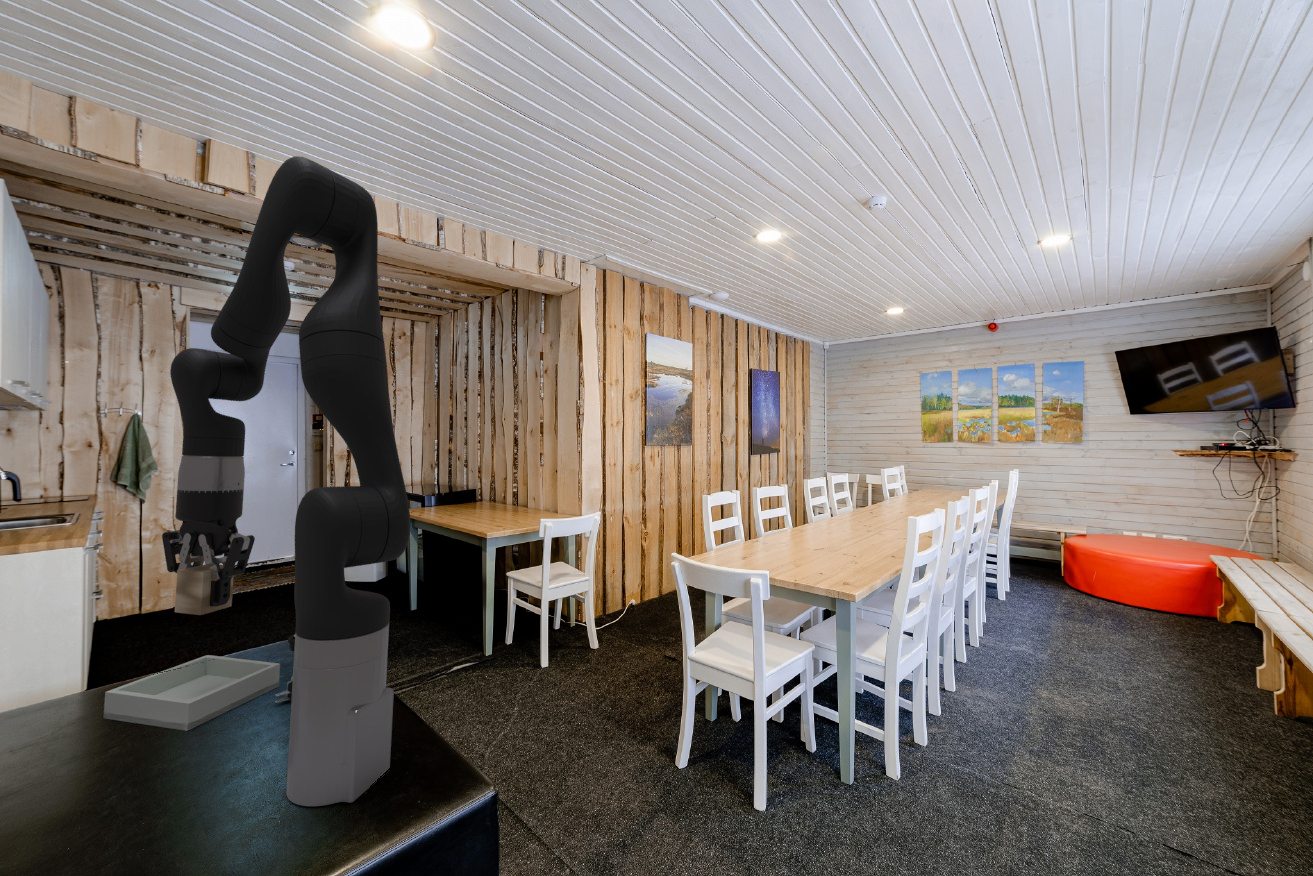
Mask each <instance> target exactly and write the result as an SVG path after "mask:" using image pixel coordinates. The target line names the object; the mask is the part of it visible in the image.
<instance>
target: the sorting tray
mask: <svg viewBox="0 0 1313 876" xmlns="http://www.w3.org/2000/svg"><path fill="white" fill-rule="evenodd" d="M212 659H215V660H212ZM208 660H210V661H208ZM202 661H206V662H204V663H199V662H202ZM194 663H198V664H194ZM192 664H194V665H192ZM186 665H190V666H188V667H185V666H186ZM180 667H182V668H181V669H177V668H180ZM173 669H176V670H173ZM280 669H281V663H277V662H269V661H261V660H253V659H245V658H235V657H228V656H218V655H209V654H207V655H204V656H201V657H198V658H195V659H192V660H189V661H187V662H184V663H181V664H179V665H176V666H174V667H173V666H172V667H170V668H167V669H164V670H162V671H161V672H163V673H159V672H156V673H154V675H153V674H151V675H148V676H146V677H143V678H139V679H137V680H135V681H132V682H129V683H127V684H126V683H125V684H124V685H121V686H118V687H116V688H112V689H110V690H107V691H105V692H104V693H105V694H104V705H103V708H104V709H103V719H107V720H114V721H119V722H127V723H133V724H139V725H140V724H141V725H145V726H153V727H159V728H166V729H173V730H179V731H186V732H187V731H190V730H192V729H194V728H196V727H198V726H200V725H203V724H205V723H206V722H209V721H211V720H212V719H214V718H217V717H219V716H221V715H223V714H225V713H227V712H229V711H231V710H233V709H235V708H237V707H239V706H242V705H243V704H246V703H247V702H250V701H252V700H255V699H256V698H259V697H260V696H262V695H264V694H266V693H268V692H270V691H272V690H274V689H276V688H279V687H280V673H281V670H280ZM168 670H171V671H168ZM164 671H168V672H164ZM157 673H158V674H157Z"/></svg>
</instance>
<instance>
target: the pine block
mask: <svg viewBox="0 0 1313 876" xmlns="http://www.w3.org/2000/svg"><path fill="white" fill-rule="evenodd" d="M219 565H220V570H221V571H222V570H223V564H219ZM234 577H235V576H233V577H232V579H231V587H230V598H229V600H228V602H227V603H226V604H224V605H220V606H217V607H214V606H210V591H211V581H213V580H212V578H211V571H210V567H209V566H207V565H206V564H205V563H204V564H203V565H201V566H195V567H190V568H185V569H180V570H177V573H176V587H175V597H174V598H175V602H174V613H179V614H186V615H194V616H195V615H196V616H203V615H206V614H210V613H213V612H217V611H221V610H223V609H227V608H230V607H232V604H233V593H234V592H233V589H234Z"/></svg>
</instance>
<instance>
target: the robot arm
mask: <svg viewBox="0 0 1313 876" xmlns="http://www.w3.org/2000/svg"><path fill="white" fill-rule="evenodd" d="M256 219H257V220H256V222H255V226H254V228H253V231H252V235H251V237H250V241H249V244H248V247H247V249H246V253H245V256H244V259H243V263H242V266H241V269H240V272H239V274H238V276H237V279H236V281H235V284H234V286H233V288H232V290H231V291H230V294H229V295H228V297H227V299H226V301H225V302H224V304H223V306H222V308H221V310H220V311H219V313H218V315H217V316H216V318H215V320H214V322H213V324H212V326H211V329H210V337H211V340H212V341H213V343H214V344H215V345H216V346H217V347H218V348H220V349H221V350H222V351H224V352H221V351H215V350H208V349H203V348H197V347H196V348H195V347H194V348H192V347H190V348H185V349H184V350H181V351H180V352H178V353H177V354H176V355H175V357H174V358H173V359H172V362H171V364H170V371H169V372H170V373H169V374H170V379H171V383H172V387H173V390H174V394H175V397H176V399H177V403H178V407H179V411H180V416H181V419H182V420H181V421H182V426H183V429H182V431H183V432H182V448H181V449H182V451H181V459H180V464H179V468H178V474H177V484H176V485H177V487H176V503H175V513H174V514H175V519H176V520H178V521H180V522H181V525H180V527H179V529H178V530H177V529H176V530H171V531H164V532H163V533H162V534H161V540H162V545H163V550H164V551H163V552H164V556H165V557H164V558H165V565H166V570H167V571H168V573H176V574H177V570H180V569H185V568H190V567H195V566H201V565H205V564H206V565H207V566H209V567H210V571H211V578H212V580H213V581H211V591H210V606H214V607H217V606H220V605H224V604H226V603H227V602H228V600H229V598H230V587H231V579H232V577H233V576H234V577H236V576H239V575H243V574H244V573H245V572H246V568H247V567H248V562H249V560H250V557H251V553H252V550H253V547H254V544H255V540H256V539H255V538H256V537H255V536H254V535H253V534H249V535H244V534H241V533H239V530H238V527H237V520H238V519H239V518H241V517H242V516H243V508H244V507H243V505H244V493H245V492H244V490H245V478H246V477H245V476H246V475H245V473H246V471H245V470H246V469H245V459H244V457H245V442H246V425H245V424H246V423H245V422H243V420H242V419H239V418H237V417H233V416H230V415H225V414H222V413H220V412H217V411H216V410H215V408H214V407H213V406H212V404H211V402H210V401H211V399H212V400H222V401H231V402H246V401H249V400H251V399H253V398H255V397H256V396H258V394H260V392H261V391H262V389H263V387H264V384H265V375H266V374H265V373H266V368H267V362H268V358H269V356H270V351H271V349H272V346H273V345H274V344H275V342H276V341H277V339H278V337H279V335H280V334H281V332H282V331H283V329H284V327H285V326H286V324H287V322H288V320H289V318H290V314H291V310H292V309H291V307H292V299H291V293H290V287H289V283H288V280H287V279H288V278H287V274H286V267H285V253H286V248H287V246H288V244H289V242H290V240H291V239H292V237H293V236H294V235H295V234H296V235H299V236H301V237H304V238H306V239H308V240H312V241H314V242H317V243H319V244H321V245H324V246H327V247H329V248H331V250H332V252H333V253H334V258H335V259H334V260H335V272H334V273H335V274H334V278H333V281H332V283H331V285H329V287H328V288H327V290H326V291H325V292H324V293H323V295H321V296H320V298H319V299H318V300H317V301H316V302H315V304H314V305H312V307H311V309H310V310H309V311H308V313H307V314H306V315H305V317H304V318H303V320H302V323H301V324H300V327H299V332H298V342H299V343H298V345H299V346H298V347H299V359H300V360H299V361H300V372H301V379H302V383H303V385H304V388H305V390H306V392H307V395H308V396H309V397H310V399H311V400H312V402H313V403H314V405H316V407H317V408H318V410H319V411H320V413H321V414H322V415H323V416H324V417H325V419H326V420H327V421H328V422H329V424H330V425H331V426H332V427H333V428H334V429H335V430H336V432H337V433H338V434H339V436H340V438H341V439H342V440H343V441H344V443H345V444H346V446H347V448H348V450H349V452H350V454H351V456H352V459H353V461H354V463H355V468H356V471H357V476H358V480H359V485H351V486H350V485H349V486H346V485H345V486H322V487H316V488H313V489H310V490H308V491H307V492H306V493H305V494H304V496H303V497H302V498H301V500H300V502H299V504H298V507H297V511H296V515H295V522H294V591H293V593H294V595H293V596H294V597H293V598H294V607H295V608H294V609H295V610H294V611H295V633H294V634H295V650H294V651H293V652H294V653H293V670H292V676H293V683H292V700H291V702H290V704H291V705H290V719H289V721H290V723H289V736H288V737H289V739H288V755H287V756H288V757H287V758H288V759H287V760H288V761H287V775H286V776H287V777H286V791H285V792H286V798H287V800H289V801H290V802H291V803H293V804H295V805H298V806H303V807H322V806H329V805H333V804H337V803H353V802H355V801H356V800H357V799H358V798H360V797H361V796H362V794H364V793H366V791H367V790H369V788H371V787H372V786H373V785H374V784H375V783H376V782H377V779H378V778H380V776H382V775H383V774H384V773H385V772H386V771H387V770H388V769H389V768H390V767H391V752H392V751H391V750H392V749H391V747H392V734H393V733H392V731H393V711H394V709H393V708H394V689H393V688H391V687H387V676H388V673H387V672H388V671H387V670H388V650H389V637H390V636H389V634H390V633H389V632H390V631H389V630H390V621H391V620H390V618H391V617H390V616H391V604H390V600H389V598H387V597H386V596H385V595H382V594H381V593H378V592H372V591H367V590H360V589H355V588H351V587H349V586H347V584H346V579H345V578H346V577H345V569H348V568H354V567H361V566H366V565H372V564H373V565H375V564H380V563H386V562H390V561H395V560H396V559H399V558H400V557H401V556H402V555H403V554H404V552H405V551H406V549H407V547H408V544H409V540H410V535H411V514H410V511H411V510H410V506H409V499H408V495H407V489H406V485H405V479H404V476H403V475H404V474H403V471H402V467H401V466H402V465H401V462H400V458H399V452H398V447H397V446H398V445H397V443H396V437H395V431H394V424H393V416H392V409H391V408H392V407H391V399H390V398H391V397H390V389H389V377H388V376H389V375H388V362H387V356H386V354H387V353H386V343H385V340H384V339H385V338H384V332H383V327H382V317H381V307H380V295H379V292H380V291H379V277H378V275H379V274H378V272H379V271H378V254H379V252H378V250H379V249H378V248H379V246H378V242H379V241H378V239H379V238H378V237H379V236H378V235H379V233H378V232H379V229H378V227H379V226H378V214H377V207H376V204H375V202H374V198H373V196H372V195H371V194H370V192H369V191H368V190H367V189H365V188H364V187H363V186H361V185H360V184H359V183H357V182H356V181H353V180H350V178H347V177H345V176H343V175H342V174H339V173H337V172H336V171H333V170H332V169H329V168H327V167H326V166H323V165H322V164H320V163H318V162H315V161H314V160H312V159H309V158H307V157H304V156H299V155H298V156H297V155H296V156H292V157H290V158H287V159H286V160H285V161H284V162H283V163H282V164H281V165H280V167H278V169H277V170H276V172H275V173H274V175H273V177H272V180H271V181H270V183H269V185H268V187H267V190H266V193H265V196H264V199H263V201H262V205H261V207H260V211H259V213H258V217H257V218H256ZM177 555H178V558H176V556H177ZM220 556H223V557H220ZM177 559H178V561H179V562H177ZM220 565H223V570H222V571H221V570H220ZM235 565H236V566H235ZM234 577H233V578H234ZM390 769H391V768H390ZM384 775H385V774H384ZM384 775H383V776H384ZM383 776H382V777H383ZM380 779H381V778H380ZM375 781H376V782H375ZM374 782H375V783H374ZM373 783H374V784H373ZM372 784H373V785H372ZM371 785H372V786H371ZM370 786H371V787H370Z"/></svg>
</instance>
